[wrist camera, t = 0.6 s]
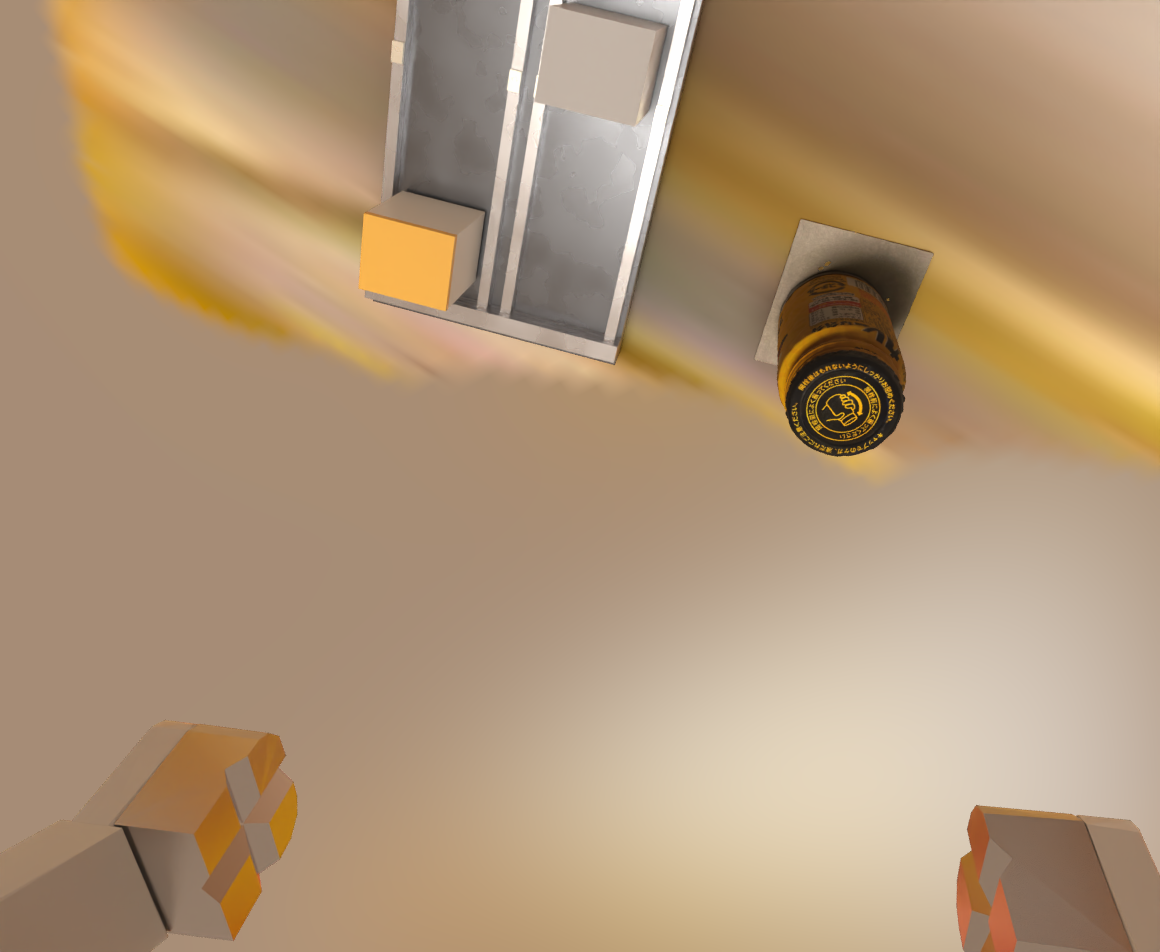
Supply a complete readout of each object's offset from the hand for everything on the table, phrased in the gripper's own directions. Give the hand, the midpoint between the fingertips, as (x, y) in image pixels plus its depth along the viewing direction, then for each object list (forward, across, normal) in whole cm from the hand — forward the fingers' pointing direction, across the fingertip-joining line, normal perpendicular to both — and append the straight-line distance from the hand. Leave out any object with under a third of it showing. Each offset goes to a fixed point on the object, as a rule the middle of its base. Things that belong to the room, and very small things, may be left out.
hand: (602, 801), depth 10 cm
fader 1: (+41, +16, +3) cm, 44 cm away
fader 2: (+41, +6, -6) cm, 42 cm away
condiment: (+44, -6, +8) cm, 45 cm away
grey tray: (+43, +11, -2) cm, 45 cm away
